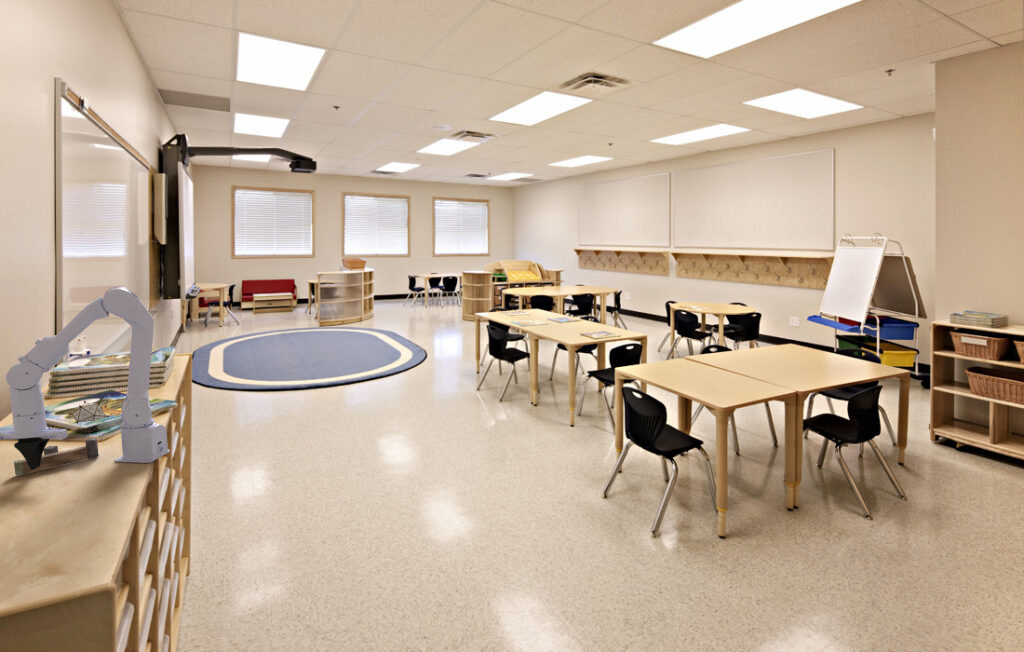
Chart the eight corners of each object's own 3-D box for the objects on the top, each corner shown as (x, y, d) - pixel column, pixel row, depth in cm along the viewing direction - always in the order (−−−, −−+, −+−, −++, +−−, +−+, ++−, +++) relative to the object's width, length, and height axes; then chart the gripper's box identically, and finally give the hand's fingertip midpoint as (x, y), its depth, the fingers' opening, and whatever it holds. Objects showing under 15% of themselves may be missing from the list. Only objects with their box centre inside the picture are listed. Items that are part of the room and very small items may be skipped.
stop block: (58, 455, 141) (57, 445, 141) (53, 457, 139) (52, 448, 139) (50, 455, 141) (49, 446, 141) (44, 458, 139) (43, 448, 139)
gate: (97, 454, 141) (95, 437, 140) (99, 457, 140) (98, 439, 139) (15, 473, 129) (12, 454, 128) (17, 476, 127) (14, 457, 127)
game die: (86, 439, 163) (76, 409, 165) (117, 426, 166) (107, 397, 168) (69, 434, 155) (59, 403, 157) (102, 420, 158) (92, 390, 160)
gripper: (74, 407, 132) (79, 460, 134) (9, 408, 130) (15, 461, 132) (52, 416, 125) (58, 472, 127) (-17, 417, 123) (-10, 473, 125)
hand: (35, 468), depth 129 cm, fingers closed
